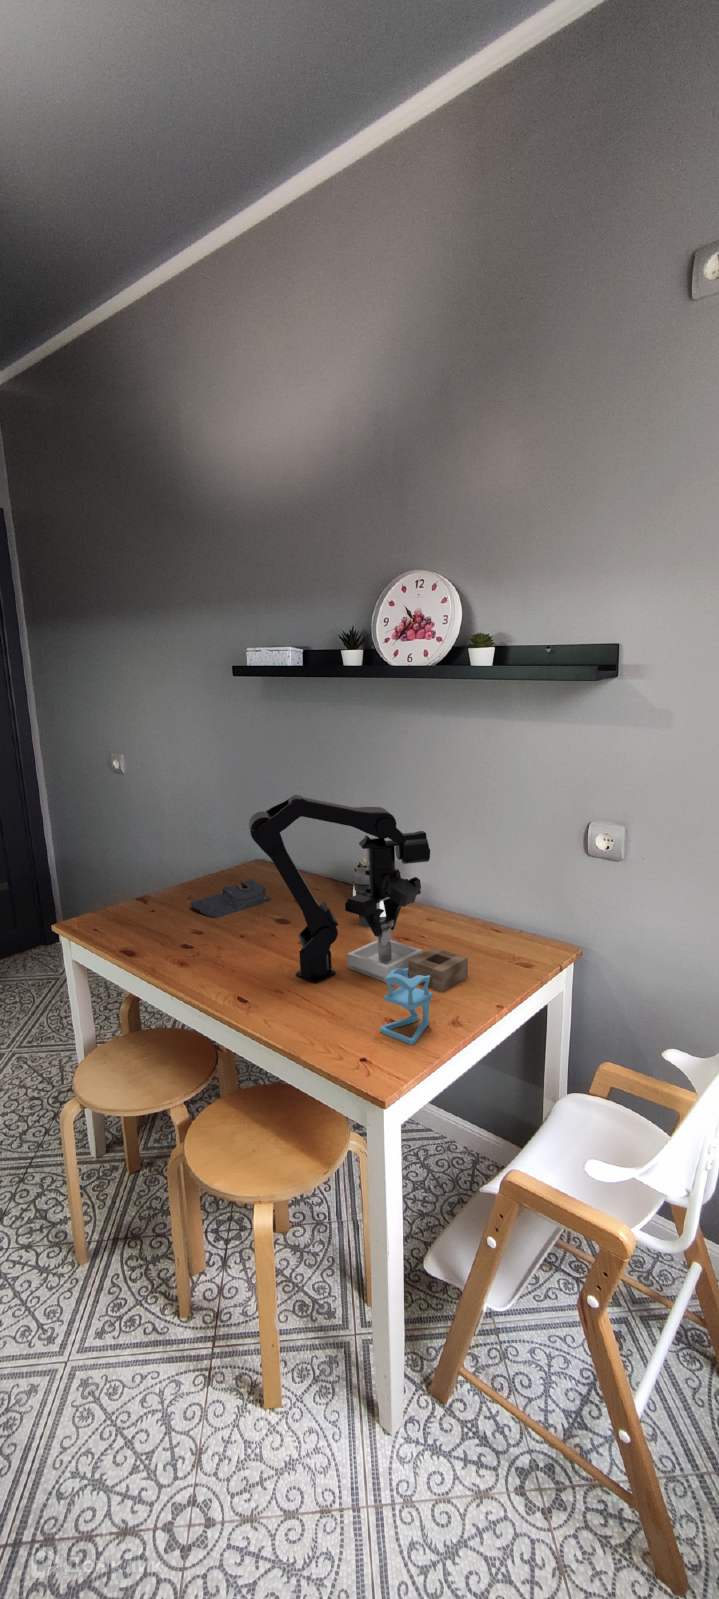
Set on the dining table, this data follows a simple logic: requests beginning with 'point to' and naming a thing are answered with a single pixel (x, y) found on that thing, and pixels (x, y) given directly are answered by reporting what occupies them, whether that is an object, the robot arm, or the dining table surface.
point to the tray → (370, 964)
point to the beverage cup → (362, 886)
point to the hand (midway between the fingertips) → (384, 932)
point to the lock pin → (385, 939)
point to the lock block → (439, 968)
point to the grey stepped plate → (232, 899)
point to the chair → (407, 1002)
